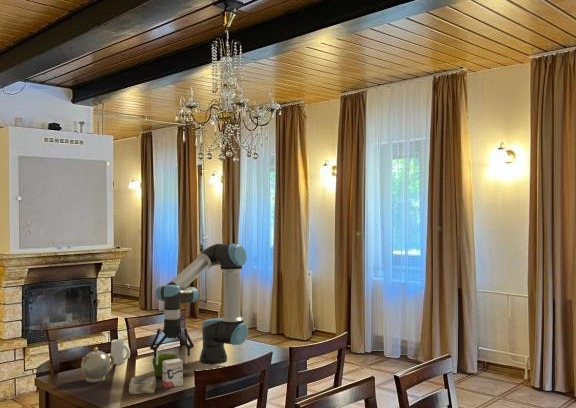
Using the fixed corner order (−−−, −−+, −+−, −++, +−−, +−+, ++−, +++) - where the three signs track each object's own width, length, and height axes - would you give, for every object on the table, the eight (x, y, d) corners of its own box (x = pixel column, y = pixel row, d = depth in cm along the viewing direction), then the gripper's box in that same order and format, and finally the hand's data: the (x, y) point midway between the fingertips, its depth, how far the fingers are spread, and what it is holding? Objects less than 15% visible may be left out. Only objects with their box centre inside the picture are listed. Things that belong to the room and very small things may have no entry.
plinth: (155, 384, 272) (155, 375, 273) (154, 392, 260) (154, 382, 260) (131, 385, 271) (131, 376, 271) (129, 394, 258) (129, 384, 258)
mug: (124, 365, 308) (124, 343, 308) (107, 363, 314) (107, 341, 314) (135, 362, 315) (134, 340, 316) (118, 360, 321) (118, 338, 321)
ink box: (166, 388, 266) (165, 362, 266) (162, 385, 270) (161, 360, 270) (183, 385, 271) (183, 360, 271) (179, 382, 275) (178, 358, 275)
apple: (150, 374, 290) (150, 352, 290) (174, 371, 295) (174, 349, 295) (155, 381, 278) (155, 357, 279) (180, 377, 283) (180, 354, 283)
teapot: (91, 386, 270) (91, 351, 270) (74, 382, 278) (74, 348, 278) (122, 378, 284) (122, 344, 285) (105, 373, 292) (105, 341, 293)
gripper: (198, 316, 277) (198, 360, 276) (145, 317, 273) (145, 362, 272) (198, 318, 270) (198, 364, 269) (144, 320, 265) (144, 366, 265)
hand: (171, 363), depth 270 cm, fingers open, 13 cm apart
